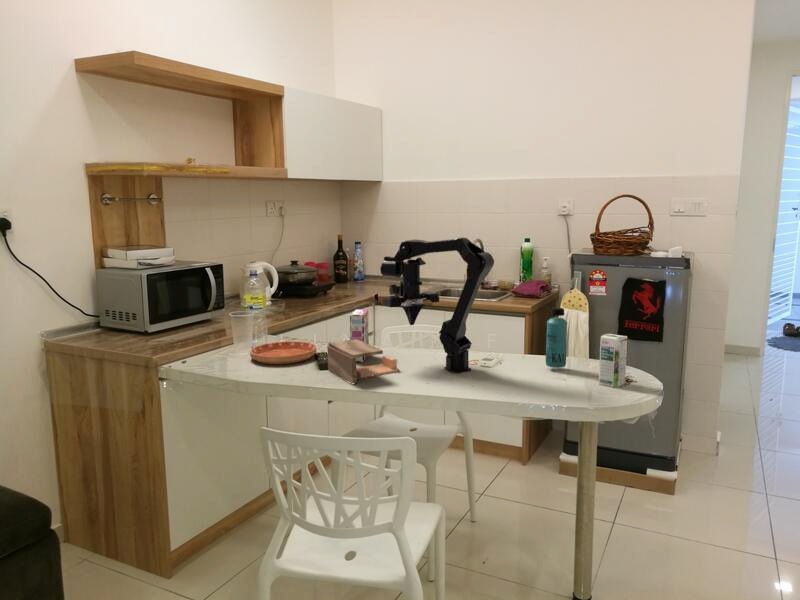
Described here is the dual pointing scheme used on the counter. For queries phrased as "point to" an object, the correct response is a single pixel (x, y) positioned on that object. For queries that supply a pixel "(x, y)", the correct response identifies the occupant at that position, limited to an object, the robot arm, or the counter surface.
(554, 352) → the beverage bottle
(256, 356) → the saucer
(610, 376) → the syrup box
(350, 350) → the overhang shelf
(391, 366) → the wooden plank with block
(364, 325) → the candy bar box
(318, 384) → the counter surface
